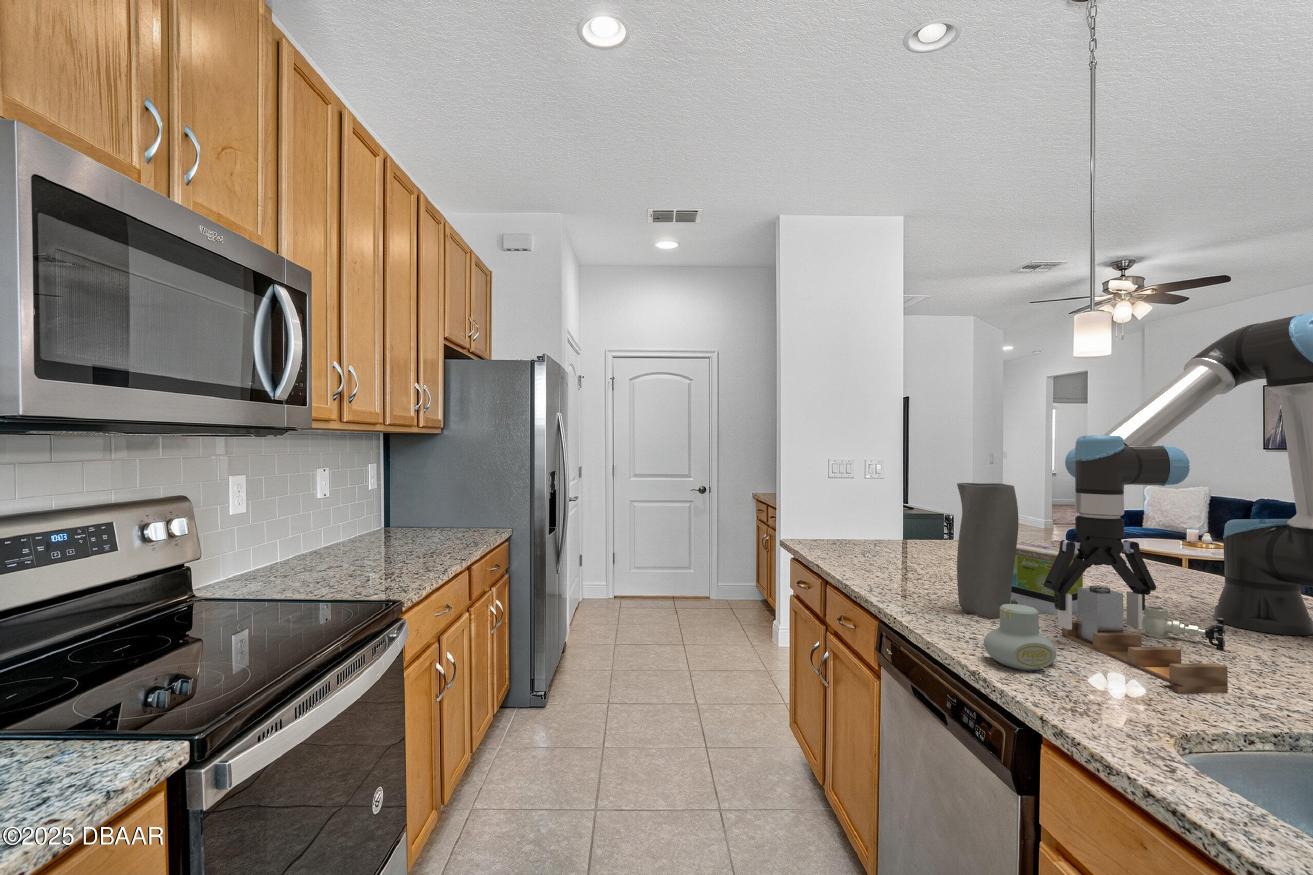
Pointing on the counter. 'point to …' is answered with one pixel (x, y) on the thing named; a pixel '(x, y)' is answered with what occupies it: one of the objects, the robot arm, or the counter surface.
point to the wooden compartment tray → (1157, 661)
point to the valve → (1179, 627)
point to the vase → (986, 547)
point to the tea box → (1037, 578)
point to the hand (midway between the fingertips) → (1099, 627)
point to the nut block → (1099, 612)
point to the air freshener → (1019, 640)
